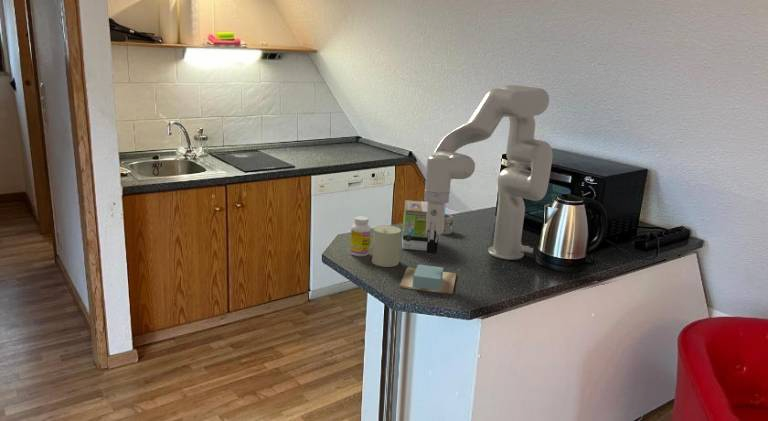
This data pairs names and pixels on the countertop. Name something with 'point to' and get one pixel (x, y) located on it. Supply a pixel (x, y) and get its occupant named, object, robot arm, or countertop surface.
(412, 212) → the tea box
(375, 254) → the can
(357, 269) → the countertop surface
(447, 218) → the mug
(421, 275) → the slab
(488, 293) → the countertop surface
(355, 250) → the supplement bottle
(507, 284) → the countertop surface
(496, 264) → the countertop surface
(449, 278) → the mat
